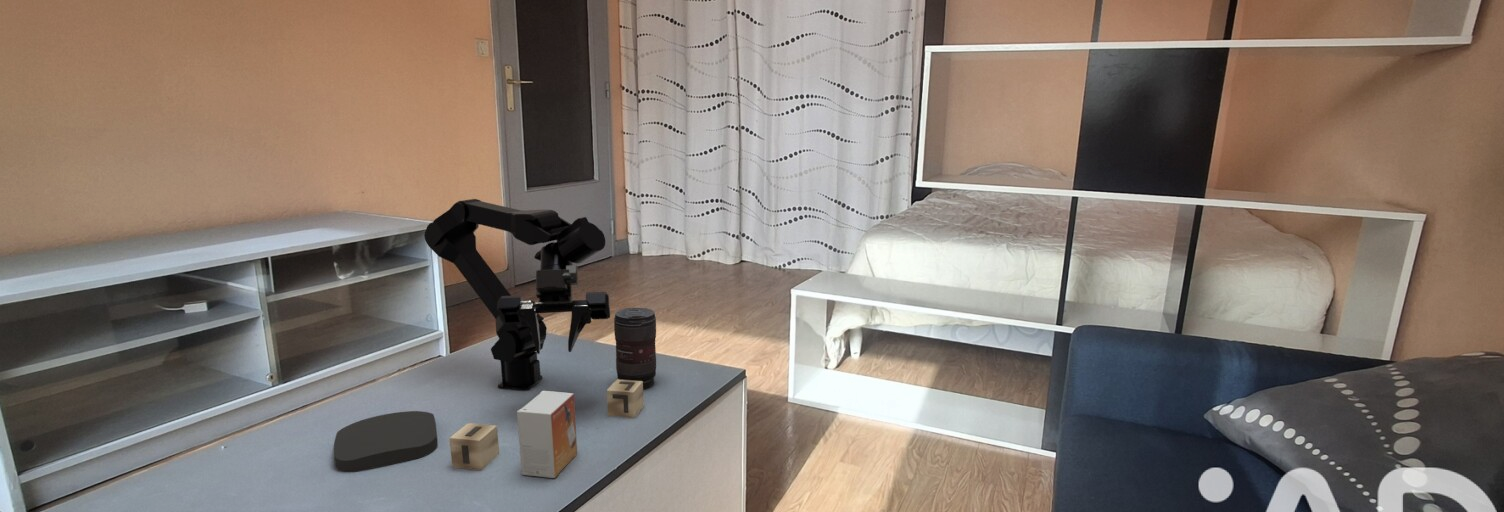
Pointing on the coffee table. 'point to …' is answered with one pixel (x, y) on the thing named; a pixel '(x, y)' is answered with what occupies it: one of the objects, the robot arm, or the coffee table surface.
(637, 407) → the marked block right
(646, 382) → the camera lens
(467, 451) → the marked block left
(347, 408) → the coffee table surface
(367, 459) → the media streaming box
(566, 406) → the small box
